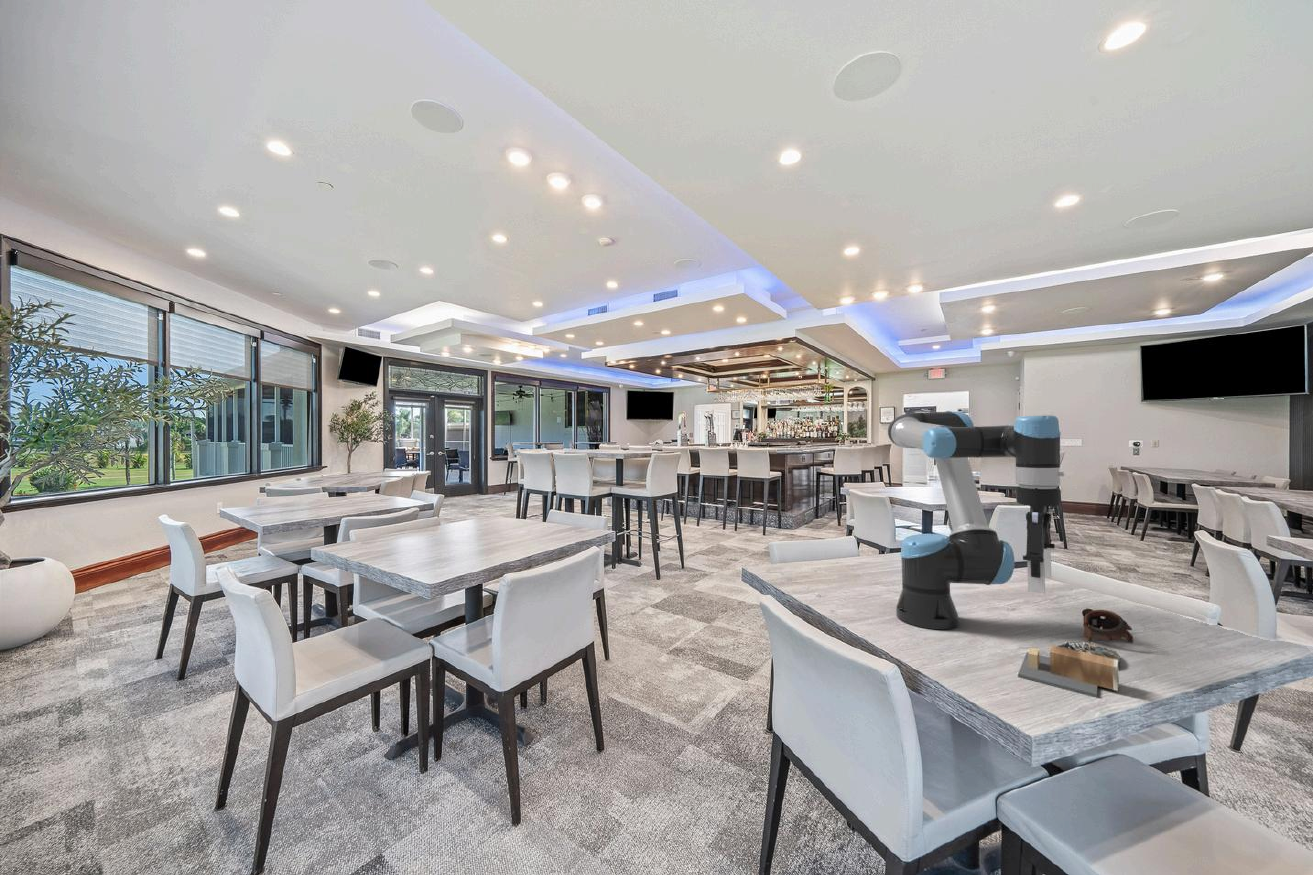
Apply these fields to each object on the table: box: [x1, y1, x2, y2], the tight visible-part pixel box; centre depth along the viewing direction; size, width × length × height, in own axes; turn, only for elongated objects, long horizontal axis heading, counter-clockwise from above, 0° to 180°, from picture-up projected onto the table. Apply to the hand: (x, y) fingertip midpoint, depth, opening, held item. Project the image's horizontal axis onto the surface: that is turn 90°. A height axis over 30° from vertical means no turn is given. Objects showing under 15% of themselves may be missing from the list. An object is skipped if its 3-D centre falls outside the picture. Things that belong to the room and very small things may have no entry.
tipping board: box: [1017, 647, 1099, 698], centre depth 98 cm, size 12×14×4 cm
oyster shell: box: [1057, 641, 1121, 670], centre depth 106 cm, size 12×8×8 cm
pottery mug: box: [1081, 608, 1134, 644], centre depth 115 cm, size 12×10×8 cm
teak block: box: [1049, 645, 1120, 692], centre depth 95 cm, size 4×4×10 cm
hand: (1040, 584), depth 101 cm, fingers open, 13 cm apart
